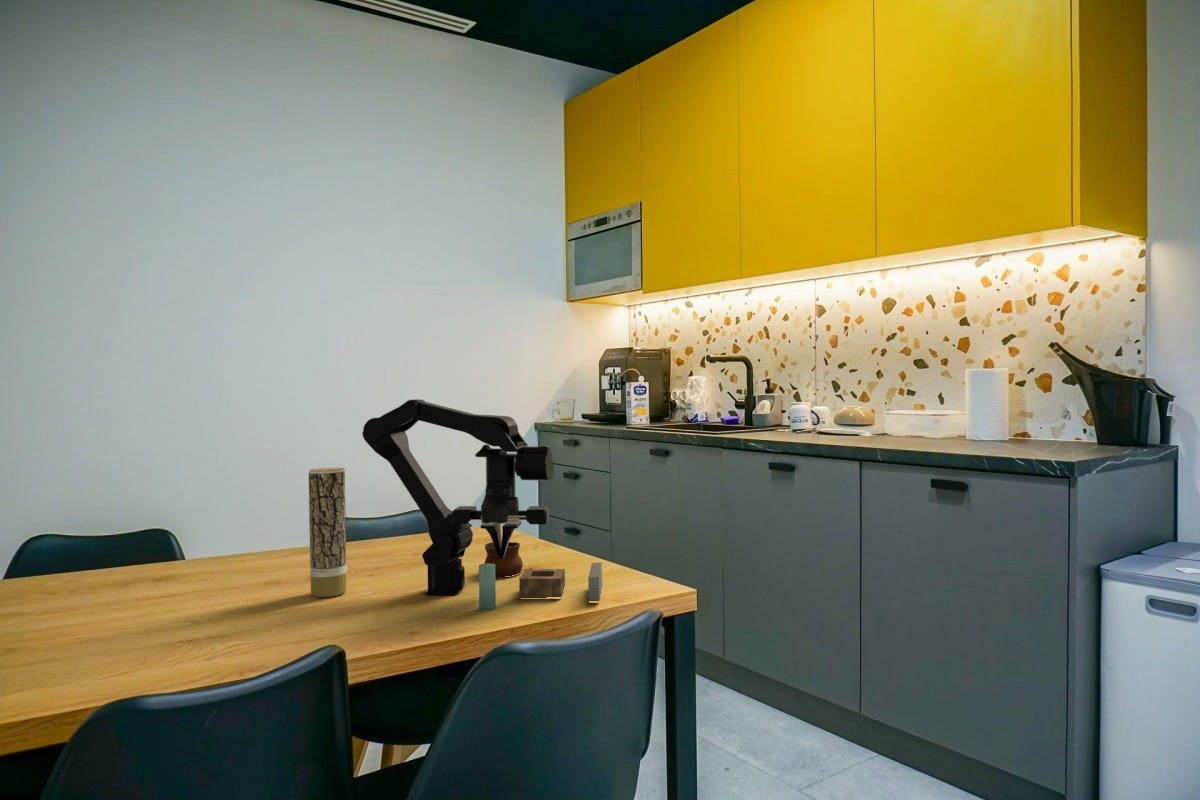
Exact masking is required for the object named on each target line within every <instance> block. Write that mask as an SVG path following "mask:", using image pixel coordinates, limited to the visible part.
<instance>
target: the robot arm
mask: <svg viewBox="0 0 1200 800" xmlns="http://www.w3.org/2000/svg"><path fill="white" fill-rule="evenodd" d="M419 421H420V422H424V423H429V424H432V425H436V426H439V427H443V428H447V429H449V430H450V429H451V430H455V431H459V432H463V433H466V434H468V435H470V436H471V437H473V438H474V439H476V440H477V441H479V442H482V443H485V444H483V445H482V447H481V448H480V449H479V450H478V451H477V452H476V453H475V454H474V456H475V457H476V458H485V494H484V498H483V500H482V503H481V506H480V510H478V509H477V506H476V505H468V506H467V505H459V506H458V507H456V508H454V510H452V509H450V508H449V507H448V506H447V505H446V503H445V502H444V500H443V499H442V497H441V496H440V495H439V493H438V491H437V489H436V488H435V486H434V485H433V484H432V482H431V481H430V480H429V478H428V477H427V474H426V473H425V471H424V470H423V469H422V467H421V465H420V464H419V462H418V461H417V460H416V458H415V456H414V455H413V453H412V452H411V450H410V443H409V438H408V435H407V433H406V432H407V431H408V430H410V429H411V428H412V427H414V426H415V425H416V423H418V422H419ZM361 434H362V438H363V440H364V441H365V443H367V445H368V446H369V447H370V448H371V450H373V451H374V453H376V454H378V455H379V456H380V457H382V458H383V459H384V460H386V461H388V463H389V464H390V466H391V467H392V469H393V470H394V472H395V473H396V476H398V478H399V479H400V481H401V482H402V484H403V486H404V488H406V491H407V492H408V493H409V495H410V497H411V499H412V500H413V501H414V503H415V504H416V506H417V507H418V509H419V511H420V512H421V513H422V515H423V517H424V519H425V520H426V523H427V530H428V531H427V532H428V535H429V538H430V540H431V542H432V544H431V545H429V547H427V549H426V550H425V551H424V552H423V553H421V554H422V555H421V556H422V560H423V563H424V565H426V566H427V589H426V591H424V593H425V595H427V596H429V595H430V596H431V595H433V596H435V595H438V596H440V595H443V596H444V595H446V596H448V595H450V596H451V595H452V596H453V595H454V596H455V595H459V593H460V592H461V591H462V590H463V589H464V587H465V586H466V582H465V581H466V580H465V579H466V578H465V574H466V570H465V566H464V565H463V561H462V558H463V557H464V555H465V552H466V549H468V548H469V547H470V546H471V544H472V543H473V536H474V533H473V530H472V529H471V527H472V526H473V524H471V523H470V521H473V520H474V521H475V520H476V521H479V520H481V525H480V529H482V530H483V529H485V530H486V532H487V533H488V534H489V536H490V539H491V542H493V543H494V546H495V549H496V552H497V555H498V558H499V559H503V558H504V556H505V553H506V550H507V547H508V543H509V542H510V541H511V537H512V535H513V533H514V531H515V529H516V530H517V529H519V527H520V526H521V525H522V520H523V521H526V522H527V523H528V524H529V525H547V524H548V523H549V521H550V514H551V513H550V508H549V507H548V506H547V505H545V506H544V505H540V506H539V505H530V506H529V507H527V509H526V510H521V509H520V506H519V504H520V503H519V502H520V501H519V498H518V496H516V476H517V477H519V478H520V480H522V481H536V482H537V481H542V482H543V481H544V482H546V481H547V482H549V481H550V482H551V481H552V479H553V477H554V473H555V472H554V471H555V461H554V458H553V454H552V451H551V446H550V445H541V446H529V445H528V443H527V441H525V439H524V438H523V436H522V434H520V432H519V427H518V424H517V422H516V420H515V419H514V418H512V417H510V416H508V415H496V414H495V415H494V414H493V415H492V414H476V413H471V412H467V411H464V410H463V411H462V410H460V409H459V410H458V409H455V408H453V407H448V406H444V405H439V404H436V403H432V402H428V401H425V399H419V398H417V399H416V398H415V399H408V400H406V401H405V402H404V403H402V404H400V406H398V407H395V408H394V409H392V410H390V411H388V412H385V413H383V415H382V414H381V416H379V417H373V418H370V419H368V420H367V421H366V422H365V423H364V425H363V430H362V433H361ZM492 447H498V448H492ZM519 509H520V510H519ZM501 524H503V525H502V526H501ZM501 528H502V529H501Z"/></svg>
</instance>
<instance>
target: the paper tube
mask: <svg viewBox="0 0 1200 800" xmlns="http://www.w3.org/2000/svg"><path fill="white" fill-rule="evenodd" d="M308 507H309V508H308V510H309V511H308V512H309V514H308V518H309V520H308V521H309V560H310V561H309V565H310V568H309V570H310V571H309V573H310V575H309V576H310V594H311V595H312V596H313V597H315V598H332V597H338V596H341V595H343V594H345V593H346V591H347V586H348V585H347V583H348V582H347V535H346V534H347V531H346V529H347V527H346V523H347V522H346V519H347V518H346V473H345V467H316V468H310V469H308Z"/></svg>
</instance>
